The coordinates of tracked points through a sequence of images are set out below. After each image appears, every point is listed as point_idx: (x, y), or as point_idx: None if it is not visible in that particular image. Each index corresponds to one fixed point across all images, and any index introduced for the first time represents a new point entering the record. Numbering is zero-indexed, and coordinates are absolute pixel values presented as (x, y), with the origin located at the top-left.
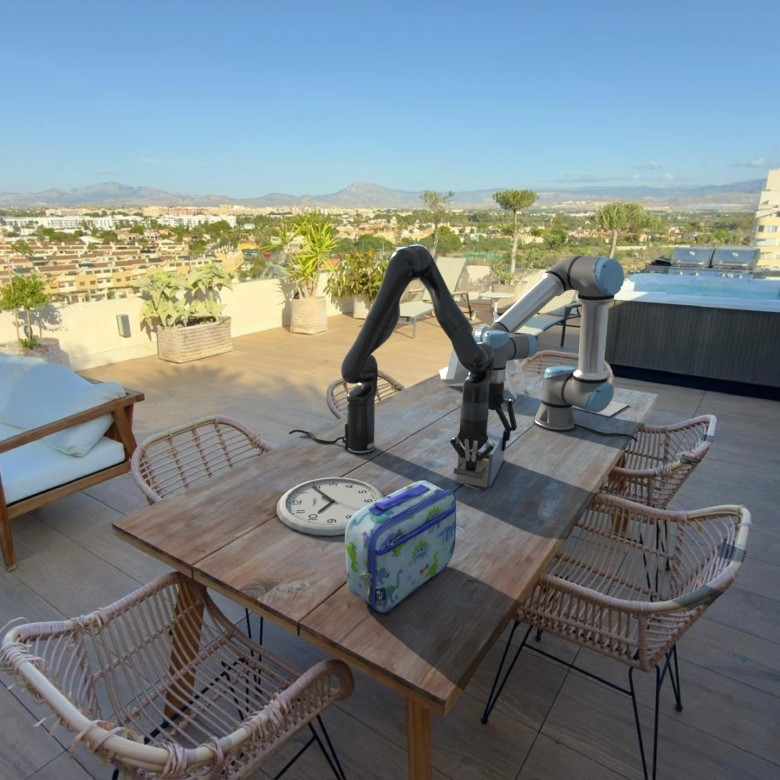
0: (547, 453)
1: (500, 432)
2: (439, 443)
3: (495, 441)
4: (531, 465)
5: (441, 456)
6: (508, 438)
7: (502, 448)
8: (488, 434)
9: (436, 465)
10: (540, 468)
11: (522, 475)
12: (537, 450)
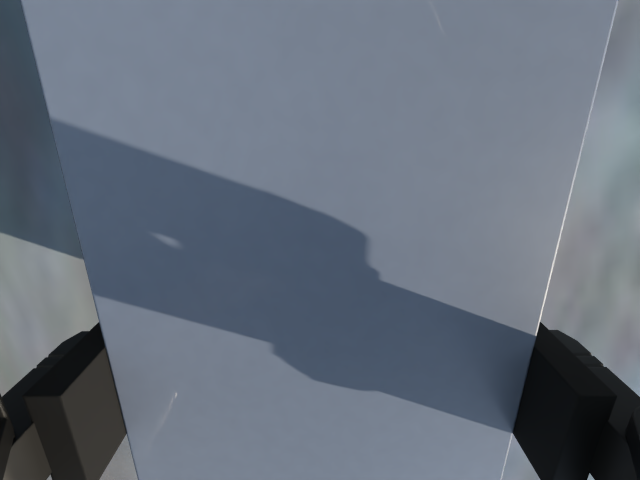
0: None
1: (177, 436)
2: (623, 372)
3: (113, 106)
4: (68, 306)
5: (604, 209)
6: (61, 351)
7: None
8: (295, 326)
9: (636, 47)
10: (9, 289)
11: (56, 151)
12: (112, 473)
